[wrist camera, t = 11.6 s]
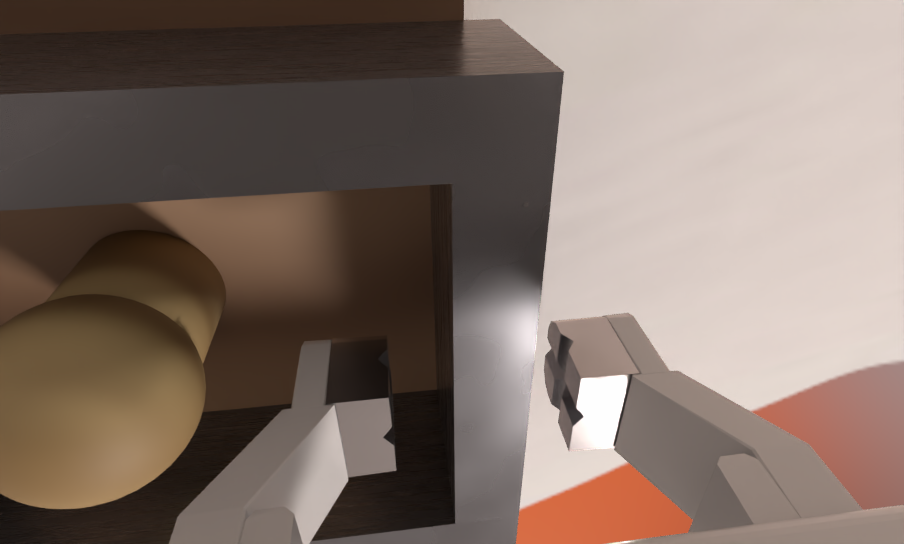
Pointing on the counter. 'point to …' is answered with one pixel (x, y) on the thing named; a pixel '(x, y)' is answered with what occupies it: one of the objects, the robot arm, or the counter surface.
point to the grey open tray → (314, 170)
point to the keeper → (192, 287)
